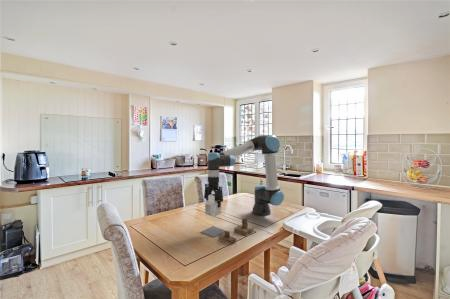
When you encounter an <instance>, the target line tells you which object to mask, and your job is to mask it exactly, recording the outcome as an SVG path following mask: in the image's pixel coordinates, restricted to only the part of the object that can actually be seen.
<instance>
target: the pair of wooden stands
mask: <svg viewBox="0 0 450 299" xmlns="http://www.w3.org/2000/svg"><path fill="white" fill-rule="evenodd" d="M248 223H249V222H248V218H247V217H243V218H241V224H239V225H237V226H234V228H233V229H234V230H233V231H234V232H235V233H238V234H241V235H244V236H248V235H250V234H252V233H254V228H253V227H251V226H248ZM218 241H220V242H224V243H226V244H229V245H235V243H237V237H236V236H232V235H231V232H230V231H229V230H226V231H225V232H224V233H222V234H220V235H219V236H218Z"/></svg>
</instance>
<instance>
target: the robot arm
mask: <svg viewBox="0 0 450 299" xmlns="http://www.w3.org/2000/svg"><path fill="white" fill-rule="evenodd" d="M280 146H281V143H280V139H279V138H278V137H277V136H276V135H271V134H269V135H257V136H256V137H253V138H251V139H249V140H247V141H246V142H244V143H242V144H239V145H236V146H234V147H232V148H230V149H227V150H225V151H222V152H208V153H207V183H204V193H203V198H204V199H205V200H206V202H209V201H208V195H210V194H215V196H216V199H217V202H216V213H218V212H220V207H221V208H222V202H223V203H224V196H223V195H224V194H223V185H219V184H220V183H219V182H220V167H221V168H222V167H234V166H235V164H236V158H237V157H238V158H239V157H241V156H242V155H246V154H247V153H250V152H251V153H252V152H253V153H254V152H256V151H261V155H263V158H264V170H265V181H266V182H265V183H266V184H261V185H260V184H259V185H256V186H254V204H253V207H252V210H251V212H252V214H253V215H257V216H261V217H262V216H263V217H264V216H269V215H271V214H272V213H271V212H272V211H271V207H270V205H272V206H276V207H277V206H281V204H282V203H283V202H284V200H285V193H284V192H283V191H281V186H280V185H278V184H279V182H278V171H277V170H278V169H277V156H276V155H277V154H278V150H280ZM212 192H213V193H212ZM206 202H205V203H206Z"/></svg>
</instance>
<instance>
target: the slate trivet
mask: <svg viewBox="0 0 450 299" xmlns="http://www.w3.org/2000/svg"><path fill="white" fill-rule="evenodd" d="M225 231H227V230H226V229H223V228H219V227H217V226H215V225H213V226H210V227H208V228H206V229H203V230H201V231H200V233H201V234H204V235H206V236H209V237H211V238H216V237H219V235H221V234H223V233H224V234H225Z"/></svg>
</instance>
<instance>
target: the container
mask: <svg viewBox="0 0 450 299" xmlns="http://www.w3.org/2000/svg"><path fill="white" fill-rule="evenodd" d="M208 201H209V202H205V203H204V205H205V206H204V208H205V209H204V211H205V212H204V214H205V215H206V216H210V217H214V218H215V217H217V216H220V215H222V206H221V207H220V212H218V213H216V202H217V199H216V196H215V193H211V194H210V195H208Z"/></svg>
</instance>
